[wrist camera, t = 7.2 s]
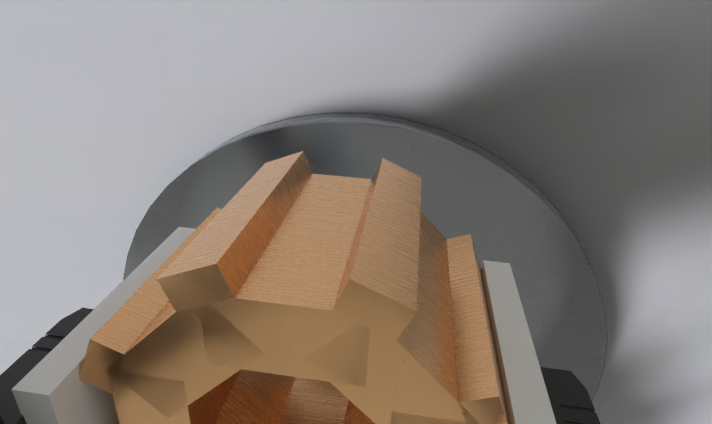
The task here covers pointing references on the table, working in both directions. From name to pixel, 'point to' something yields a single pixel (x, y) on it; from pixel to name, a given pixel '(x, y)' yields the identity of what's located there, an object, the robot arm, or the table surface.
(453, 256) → the planet gear
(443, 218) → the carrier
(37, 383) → the robot arm
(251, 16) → the table surface
